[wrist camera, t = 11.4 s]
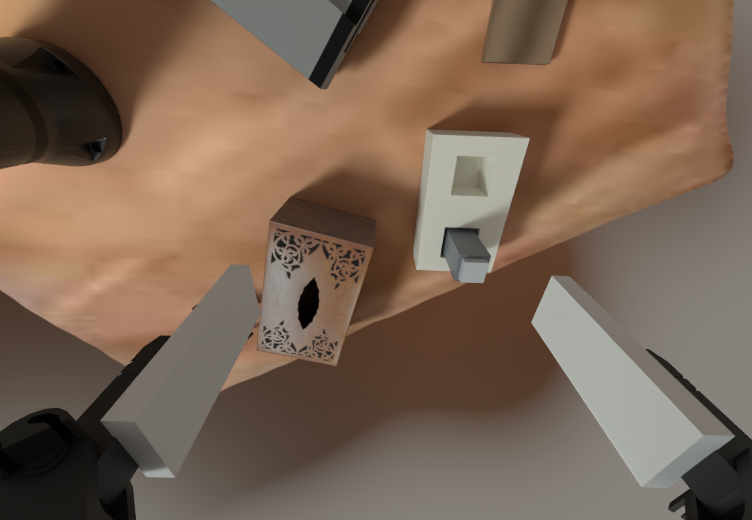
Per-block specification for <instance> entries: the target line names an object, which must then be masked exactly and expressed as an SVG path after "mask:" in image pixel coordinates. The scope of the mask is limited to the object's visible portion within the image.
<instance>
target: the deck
mask: <svg viewBox="0 0 752 520" xmlns="http://www.w3.org/2000/svg"><path fill="white" fill-rule="evenodd" d="M567 1H568V0H493V2H492V8H491V13H490V18H489V24H488V29H487V35H486V40H485V45H484V51H483V56H482V62H481V63H505V64H531V65H546V64H550V61H551V57H552V54H553V50H554V47H555V43H556V40H557V36H558V33H559V29H560V26H561V22H562V19H563V15H564V12H565V8H566V5H567Z"/></svg>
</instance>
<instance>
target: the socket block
mask: <svg viewBox="0 0 752 520" xmlns="http://www.w3.org/2000/svg"><path fill="white" fill-rule="evenodd" d="M529 139H530V138H528V137H524V136H521V135H518V134H514V133H511V132H487V131H460V130H434V129H427V132H426V140H425V149H424V158H423V167H422V175H421V184H420V193H419V202H418V210H417V219H416V228H415V237H414V245H413V255H414V260H415V265H416V270H435V271H450V269H449V266H448V264H447V261H446V259H445V256H444V254H443V251H442V249H441V248H442V242H443V236H444V231H445V227H454V228H472V229H473V230H474V231H475V233H476V234H477V236H478V237H479V239H480V240H481V242H482V243H483V245H484V246H485V248H486V249H487V251H488V252H489V253H490V255H491V258H490V262H489V265H488V269H487V272H491V270H492V267H493V264H494V260H495V257H496V253H497V250H498V246H499V243H500V239H501V236H502V232H503V229H504V226H505V222H506V219H507V215H508V212H509V208H510V205H511V201H512V198H513V195H514V191H515V188H516V184H517V181H518V177H519V174H520V170H521V167H522V163H523V160H524V157H525V153H526V150H527V146H528V143H529Z"/></svg>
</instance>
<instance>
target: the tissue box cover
mask: <svg viewBox="0 0 752 520" xmlns="http://www.w3.org/2000/svg"><path fill="white" fill-rule="evenodd" d="M375 224H376V220H372V219H368V218H365V217H361V216H357V215H354V214H350V213H346V212H343V211H339V210H335V209H332V208H328V207H324V206H321V205H317V204H314V203H310V202H306V201H303V200H299V199H295V198H292V197H290V198H289V199H288V200H287V201H286V202H285V203H284V205H283V206H282V207H281V208H280V209H279V210H278V211H277V213H276V214H275V215H274V216H273V217H272V218H271V220H270V222H269V232H268V242H267V252H266V262H265V272H264V282H263V292H262V301H261V311H260V321H259V331H258V341H257V350H258V351H263V352H268V353H273V354H278V355H283V356H288V357H293V358H298V359H303V360H308V361H314V362H318V363H323V364H328V365H333V366H336V365H337V362H338V359H339V356H340V353H341V350H342V347H343V343H344V340H345V337H346V334H347V331H348V328H349V325H350V322H351V319H352V316H353V313H354V310H355V307H356V304H357V301H358V297H359V294H360V291H361V288H362V285H363V282H364V279H365V276H366V273H367V270H368V267H369V264H370V261H371V257H372V254H373V251H374V248H375ZM300 318H301V319H300ZM305 319H306V320H305ZM309 320H311V321H309Z"/></svg>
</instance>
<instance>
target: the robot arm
mask: <svg viewBox="0 0 752 520" xmlns="http://www.w3.org/2000/svg"><path fill="white" fill-rule="evenodd" d="M121 135H122V130H121V122H120V118H119V115H118V112H117V109H116V107H115V104H114V102H113V100H112V98H111V97H110V95H109V93H108V92H107V90H106V89H105V87H104V86H103V84H102V83H101V82H100V81H99V79H98V78H97V77H96V76H95V75H94V74H93V73H92V72H91V71H90V70H89V69H88V68H87V67H86V66H85V65H84V64H83V63H82V62H80V61H79V60H78V59H77V58H75V57H74V56H72V55H71V54H70V53H68V52H66V51H65V50H63V49H61V48H59V47H57V46H55V45H52V44H50V43H47V42H44V41H39V40H33V39H27V38H20V37H1V38H0V169H4V168H8V167H13V166H18V165H22V164H28V163H43V164H54V165H64V166H88V165H92V164H97V163H100V162H104V161H106V160H108V159H110V158H111V157H112V156H113V155H114V154H115V153H116V151H117V150H118V148H119V146H120V142H121ZM259 316H260V310H259V306H258V302H257V297H256V293H255V288H254V284H253V280H252V275H251V271H250V266H249V265H230V267H229V268H228V269H227V270H226V271H225V273H224V274H223V275H222V276H221V277H220V279H219V280H218V281H217V282H216V283H215V284H214V286H213V287H212V288H211V289H210V290H209V292H208V293H207V294H206V295H205V296H204V298H203V299H202V300H201V301H200V302H199V304H198V305H197V306H196V307H195V308H194V310H193V311H192V312H191V313H190V314H189V315H188V317H187V318H186V319H185V320H184V321H183V323H182V324H181V325H180V326H179V327H178V329H177V330H176V331H175V332H174V333H173V335H172V336H159V337H158V338H156V339H155V340H153V341H152V342H150V343H149V344H147V345H146V346H145V347H143V348H142V349H141V350H140V352H139V353H138V354H137V355H136V356H135V357H134V358H133V359H132V360H131V363H130V364H128V365H127V366H126V367H125V368H124V369H123V370H122V371H121V372H120V375H119V376H117V377H116V378H115V379H114V380H113V381H112V382H111V383H110V385H109V386H108V387H107V388H106V389H105V390H104V391H103V392H102V393H101V394H100V396H99V397H98V398H97V399H96V400H95V401H94V402H93V403H92V404H91V405H90V407H89V408H88V409H87V410H86V411H85V412H84V413H83V414H82V415H81V416H80V418H79V419H78V420H77V421H75V420H74V419H73V418H72V416H71V415H70V414H69V413H68V412H67V411H65V410H63V409H60V408H50V409H44V410H41V411H38V412H34V413H31V414H29V415H27V416H25V417H23V418H21V419H19V420H17V421H15V422H13V423H12V424H10V425H9V426H7V427H6V428H5V429H3V430H2V431H0V520H136V514H135V504H134V493H133V486H132V484H131V482H130V480H131V478H132V476H133V475H134V473H135V472H136V470H137V468H138V467H139V468H140V469H141V471H142V472H143V473H144V474H145V475H146V477H174V478H175V476H176V475H177V473H178V471H179V469H180V467H181V465H182V463H183V461H184V459H185V457H186V455H187V453H188V452H189V450H190V448H191V446H192V444H193V442H194V440H195V438H196V436H197V434H198V432H199V430H200V429H201V427H202V425H203V423H204V421H205V419H206V417H207V415H208V413H209V411H210V409H211V408H212V406H213V404H214V402H215V400H216V398H217V396H218V394H219V392H220V390H221V388H222V386H223V385H224V383H225V381H226V379H227V377H228V375H229V373H230V371H231V369H232V367H233V365H234V363H235V362H236V360H237V358H238V356H239V354H240V352H241V350H242V348H243V346H244V344H245V342H246V340H247V339H248V337H249V335H250V333H251V331H252V329H253V327H254V325H255V323H256V321H257V319H258V317H259ZM532 324H533V326H534V327H535V329H536V330H537V332H538V333H539V335H540V336H541V338H542V339H543V341H544V342H545V344H546V345H547V346H548V348H549V349H550V351H551V353H552V354H553V355H554V357H555V359H556V360H557V361H558V363H559V365H560V366H561V367H562V369H563V371H564V372H565V373H566V375H567V376H568V378H569V379H570V381H571V382H572V384H573V385H574V387H575V388H576V390H577V391H578V393H579V394H580V396H581V397H582V399H583V400H584V402H585V403H586V405H587V406H588V408H589V409H590V411H591V412H592V414H593V415H594V417H595V418H596V420H597V421H598V423H599V424H600V426H601V427H602V429H603V430H604V432H605V433H606V435H607V436H608V438H609V439H610V441H611V442H612V444H613V445H614V447H615V448H616V450H617V451H618V453H619V454H620V456H621V457H622V459H623V460H624V462H625V463H626V465H627V466H628V468H629V469H630V471H631V472H632V474H633V475H634V477H635V478H636V480H637V481H638V482H639V484H640V486H641V487H663V488H664V487H666V488H668V487H669V486H670V485H672V484H673V483H675V482H676V481H677V480H678V479H680V478H682V479H683V480H684V481H685V482H686V484H687V485H688V486H689V488H690V489H689V490H687V491H686V492H684V493H683V494H682V495H680V496H679V497H677V498H676V499H675V500H673V501H672V502H671V503H670V504H669V508H668V509H669V510H670V511H672V512H675V511H676V510H678V509H679V508H681V507H682V506H685V512H686V513H684V514H683V515H682V516H681V518H683V519H684V520H752V440H751V439H750V438H749V437H748V436H747V435H746V434H745V433H744V432H743V431H742V430H740V429H739V428H738V427H737V426H736V425H735V424H734V423H733V422H732V421H731V420H730V419H729V418H728V417H726V416H725V415H724V414H723V413H722V412H721V411H720V410H719V409H718V408H717V407H716V406H715V405H713V404H712V403H711V402H710V401H709V400H708V399H707V398H706V397H705V396H704V395H703V394H701V392H700V391H696V388H695V387H694V386H693V385H692V384H691V383H690V382H689V381H688V380H687V379H684V378H683V376H682V375H681V374H680V373H679V372H678V371H677V370H676V369H675V368H674V367H673V366H672V365H671V364H670V363H668V362H667V361H666V360H664V359H663V358H661V357H660V356H658V355H657V354H655V353H654V352H652V351H651V350H649V349H644V348H643V347H642V346H641V345H640V344H639V343H638V342H637V341H636V340H635V339H634V338H633V337H632V336H631V335H630V334H629V333H628V332H627V331H626V330H624V329H623V328H622V327H621V326H620V325H619V324H618V323H617V322H616V321H615V320H614V319H613V318H612V317H611V316H610V315H609V314H608V313H607V312H606V311H605V310H603V308H602V307H601V306H600V305H598V304H597V303H596V302H595V301H594V300H593V299H592V298H591V297H590V296H589V295H588V294H587V293H586V292H585V291H584V290H583V289H582V288H581V287H580V286H579V285H578V284H577V283H576V282H575V281H574V280H572V279H571V278H570V277H569V276H552V277H551V279H550V281H549V284H548V286H547V288H546V291H545V293H544V295H543V297H542V300H541V302H540V304H539V306H538V309H537V311H536V313H535V315H534V318H533V320H532Z"/></svg>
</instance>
